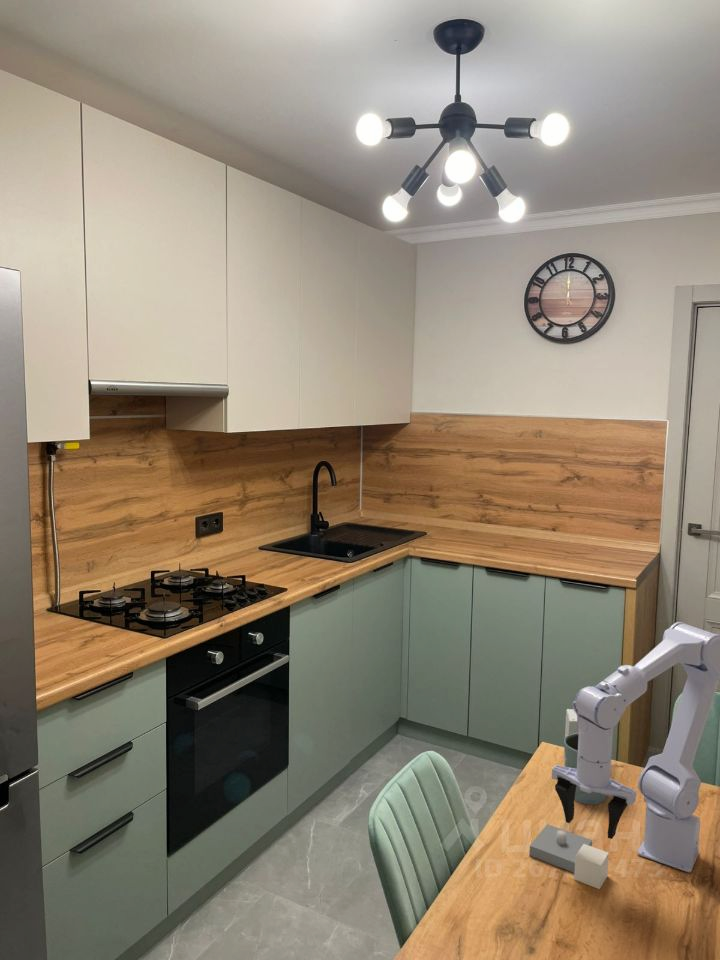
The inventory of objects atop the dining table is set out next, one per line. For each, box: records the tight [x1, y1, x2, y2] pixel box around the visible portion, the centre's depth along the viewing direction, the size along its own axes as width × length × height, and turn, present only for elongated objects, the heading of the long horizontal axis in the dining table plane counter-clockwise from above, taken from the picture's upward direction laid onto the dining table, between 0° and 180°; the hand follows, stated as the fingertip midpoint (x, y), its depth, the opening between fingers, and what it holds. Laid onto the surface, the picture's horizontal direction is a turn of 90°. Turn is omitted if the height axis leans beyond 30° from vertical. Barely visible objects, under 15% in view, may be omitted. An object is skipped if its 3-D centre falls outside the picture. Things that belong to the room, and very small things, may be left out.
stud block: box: [529, 823, 593, 874], centre depth 138 cm, size 9×9×4 cm
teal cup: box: [563, 733, 607, 806], centre depth 159 cm, size 10×10×12 cm
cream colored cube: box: [573, 844, 610, 890], centre depth 131 cm, size 5×5×4 cm
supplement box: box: [563, 708, 579, 763], centre depth 172 cm, size 7×7×13 cm
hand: (590, 828), depth 130 cm, fingers open, 7 cm apart
